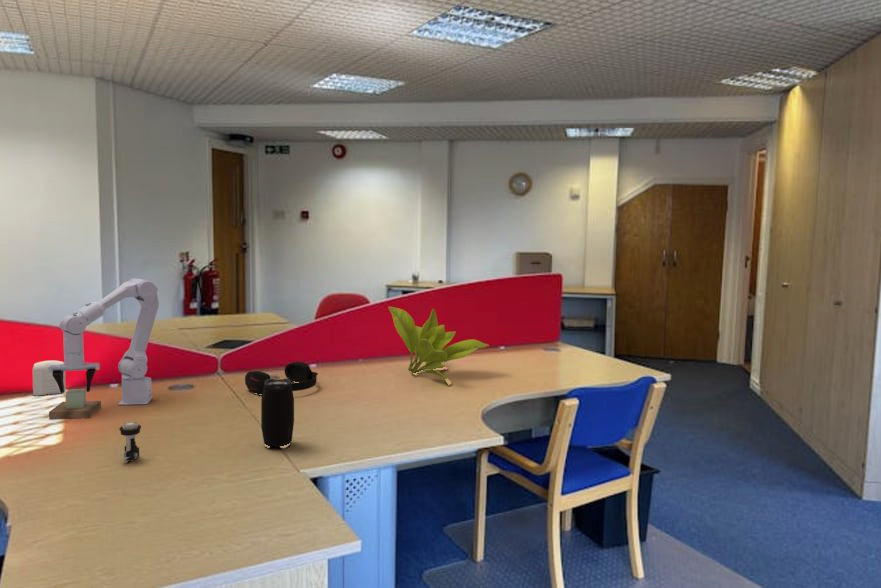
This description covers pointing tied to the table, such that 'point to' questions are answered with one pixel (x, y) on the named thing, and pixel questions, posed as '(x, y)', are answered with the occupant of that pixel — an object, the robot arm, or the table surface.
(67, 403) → the sage wooden cube
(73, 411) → the walnut riser block
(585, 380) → the table surface
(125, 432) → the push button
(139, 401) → the robot arm
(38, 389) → the photo printer
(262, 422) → the portable speaker
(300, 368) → the headset
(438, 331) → the artificial plant
